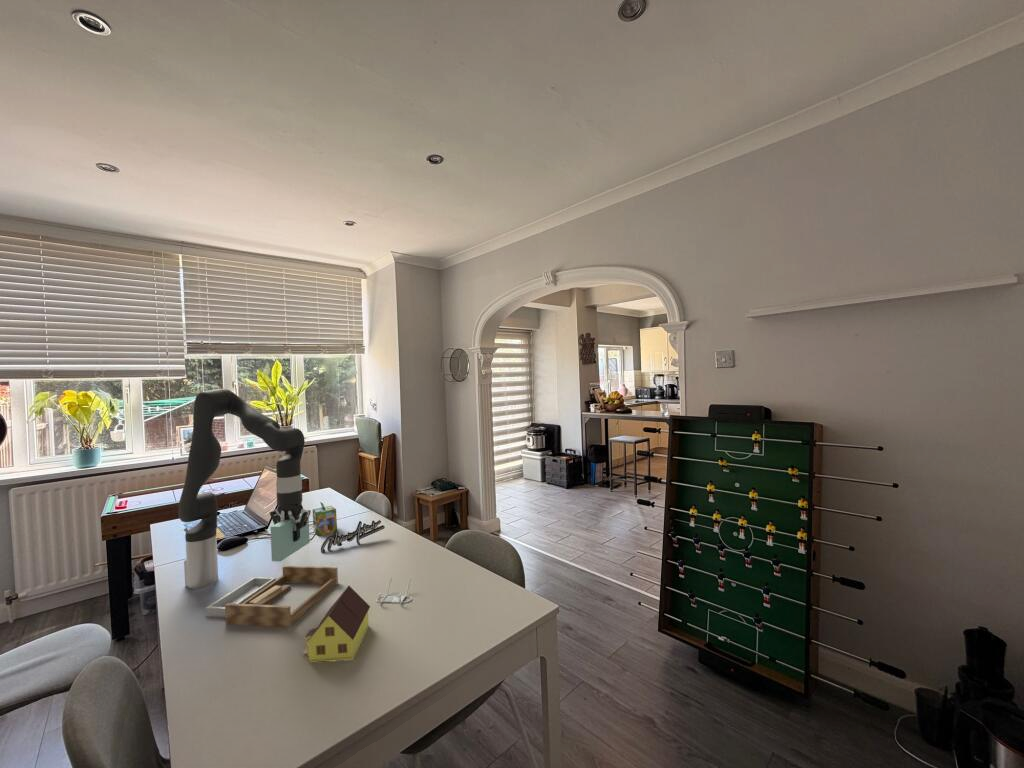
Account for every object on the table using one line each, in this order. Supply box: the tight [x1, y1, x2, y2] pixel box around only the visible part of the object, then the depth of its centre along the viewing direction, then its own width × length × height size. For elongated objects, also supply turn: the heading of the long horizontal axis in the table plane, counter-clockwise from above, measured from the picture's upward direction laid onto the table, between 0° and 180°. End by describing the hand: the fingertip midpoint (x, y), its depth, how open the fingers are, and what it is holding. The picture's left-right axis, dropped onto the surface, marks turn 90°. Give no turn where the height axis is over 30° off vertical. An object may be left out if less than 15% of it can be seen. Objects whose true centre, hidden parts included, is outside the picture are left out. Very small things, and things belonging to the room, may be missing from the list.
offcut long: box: [262, 584, 292, 605], centre depth 141 cm, size 2×18×2 cm, turn 169°
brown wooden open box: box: [225, 565, 339, 628], centre depth 141 cm, size 21×27×6 cm
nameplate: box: [320, 519, 385, 553], centre depth 188 cm, size 28×2×10 cm, turn 122°
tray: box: [205, 576, 277, 618], centre depth 143 cm, size 9×21×3 cm, turn 172°
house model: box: [301, 585, 371, 663], centre depth 117 cm, size 18×20×13 cm
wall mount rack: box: [375, 577, 413, 605], centre depth 141 cm, size 12×11×4 cm
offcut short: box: [249, 585, 283, 605], centre depth 140 cm, size 2×11×2 cm, turn 167°
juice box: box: [312, 502, 338, 537], centre depth 206 cm, size 9×9×15 cm
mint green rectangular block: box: [270, 514, 310, 562], centre depth 140 cm, size 3×15×11 cm, turn 172°
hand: (291, 540), depth 140 cm, fingers closed on mint green rectangular block, 3 cm apart
